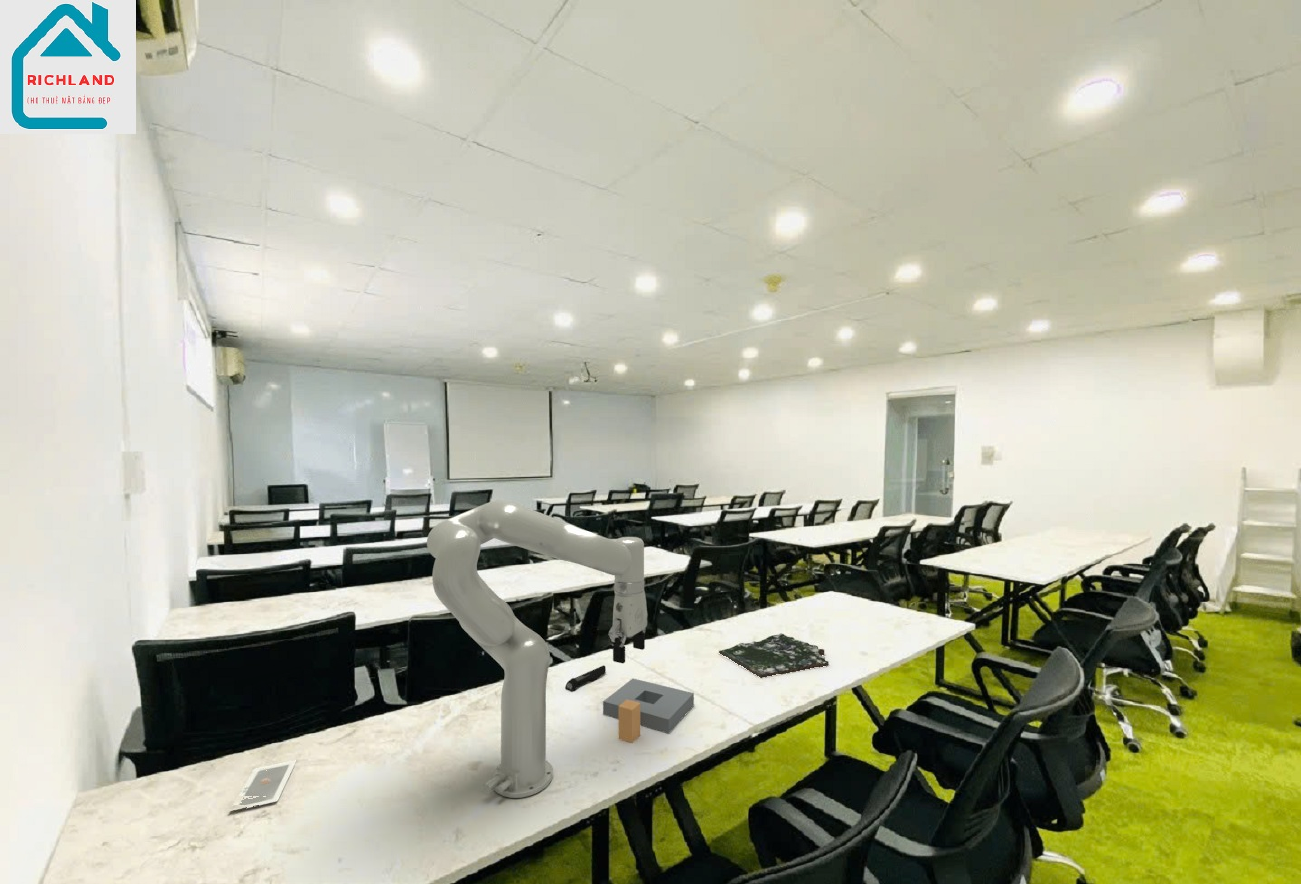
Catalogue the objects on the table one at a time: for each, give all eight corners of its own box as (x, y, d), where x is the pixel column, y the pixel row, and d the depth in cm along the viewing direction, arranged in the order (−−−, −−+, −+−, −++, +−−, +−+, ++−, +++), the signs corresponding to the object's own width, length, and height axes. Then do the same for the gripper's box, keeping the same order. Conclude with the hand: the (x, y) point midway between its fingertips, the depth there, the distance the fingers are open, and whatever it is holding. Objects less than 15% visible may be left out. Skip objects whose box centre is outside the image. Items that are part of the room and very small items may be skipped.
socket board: (668, 733, 124) (668, 719, 125) (603, 714, 134) (603, 701, 134) (693, 705, 139) (693, 693, 139) (632, 690, 148) (632, 678, 148)
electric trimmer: (608, 676, 159) (608, 666, 159) (572, 693, 147) (572, 682, 147) (600, 673, 161) (600, 663, 161) (564, 689, 149) (564, 679, 149)
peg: (632, 743, 120) (632, 710, 121) (618, 739, 122) (618, 706, 123) (640, 735, 124) (640, 703, 124) (626, 731, 126) (626, 699, 126)
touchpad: (296, 764, 113) (296, 755, 113) (277, 806, 99) (277, 795, 99) (254, 773, 110) (254, 763, 110) (228, 818, 96) (228, 806, 96)
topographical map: (719, 655, 176) (718, 646, 176) (787, 639, 191) (787, 631, 191) (768, 684, 153) (767, 674, 153) (841, 663, 168) (841, 654, 168)
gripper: (624, 597, 115) (624, 671, 115) (658, 581, 130) (658, 646, 130) (597, 593, 119) (597, 664, 118) (633, 578, 134) (633, 641, 133)
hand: (629, 655), depth 124 cm, fingers open, 9 cm apart
